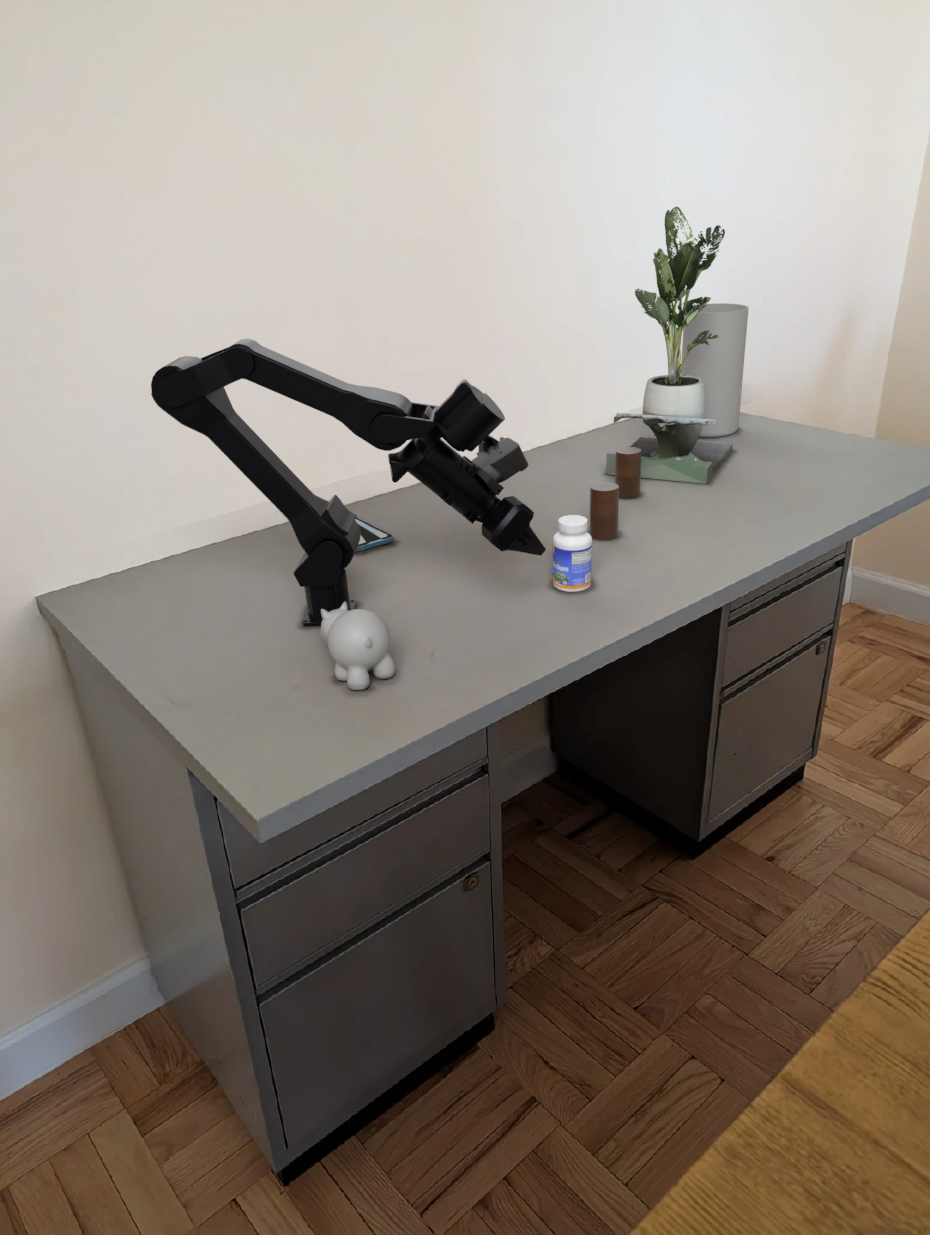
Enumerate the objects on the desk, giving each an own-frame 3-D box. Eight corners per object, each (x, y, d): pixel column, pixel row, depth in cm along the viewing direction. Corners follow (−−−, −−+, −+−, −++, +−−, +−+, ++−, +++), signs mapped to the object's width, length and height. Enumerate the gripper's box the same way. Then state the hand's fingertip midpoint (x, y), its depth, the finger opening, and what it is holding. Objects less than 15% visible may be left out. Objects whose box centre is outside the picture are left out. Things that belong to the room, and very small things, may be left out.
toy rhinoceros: (356, 641, 114) (349, 580, 110) (405, 678, 105) (398, 613, 101) (305, 659, 110) (295, 597, 106) (350, 699, 101) (342, 633, 97)
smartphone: (352, 514, 154) (396, 536, 142) (352, 519, 154) (397, 541, 143) (313, 524, 150) (355, 548, 139) (314, 530, 151) (356, 553, 139)
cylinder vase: (701, 419, 199) (709, 302, 188) (750, 429, 190) (761, 306, 179) (665, 431, 192) (671, 310, 181) (714, 441, 183) (723, 314, 172)
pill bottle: (545, 582, 127) (544, 517, 122) (578, 574, 128) (578, 510, 124) (565, 596, 122) (565, 529, 118) (599, 587, 124) (600, 521, 120)
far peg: (641, 498, 156) (643, 453, 152) (616, 499, 156) (617, 454, 152) (637, 489, 160) (639, 446, 156) (612, 491, 160) (613, 447, 156)
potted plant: (706, 484, 160) (725, 209, 140) (606, 474, 168) (610, 213, 148) (732, 450, 178) (752, 201, 157) (640, 443, 185) (648, 205, 165)
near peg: (619, 539, 139) (621, 490, 136) (591, 540, 140) (592, 491, 136) (615, 529, 143) (616, 481, 140) (588, 530, 143) (588, 482, 140)
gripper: (516, 440, 103) (600, 515, 111) (461, 406, 119) (538, 474, 127) (455, 515, 104) (543, 584, 112) (409, 472, 120) (489, 535, 128)
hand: (528, 540), depth 120 cm, fingers open, 9 cm apart
